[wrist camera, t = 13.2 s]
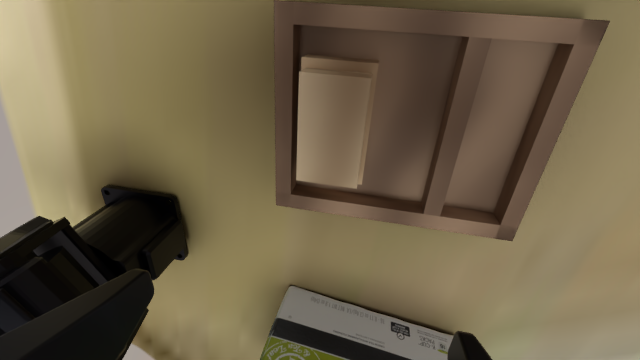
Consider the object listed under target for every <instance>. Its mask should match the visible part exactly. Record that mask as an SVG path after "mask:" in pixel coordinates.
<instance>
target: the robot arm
mask: <svg viewBox="0 0 640 360" xmlns="http://www.w3.org/2000/svg"><path fill="white" fill-rule="evenodd" d="M101 192H102V195H103V198H104V201H105V204H106V205H105V206H104V207H102V208H101V209H99V210H98V211H96V212H95V213H93V214H92V215H90V216H89V217H87V218H86V219H84V220H83V221H81V222H80V223H78V224H77V225H75V226H74V227H71V226H70V225H69V224H70V222H69V221H68V220H67V219H66V218H65V217H63V218H61V219H59V220H56V221H54V222H53V221H52V220H48V219H46V218H43V217H41V216H38V217H36V218H34V219H32V220H30V221H28V222H27V223H25V224H23V225H21V226H20V227H18V228H16V229H15V230H13V231H11V232H9V233H8V234H6V235H4V236H2V237H1V238H0V360H122V359H123V357H124V355H125V354H126V352H127V350H128V348H129V346H130V344H131V343H132V341H133V339H134V337H135V335H136V333H137V331H138V330H139V328H140V326H141V324H142V322H143V320H144V318H145V317H146V315H147V313H148V311H149V310H148V309H147V306H148V305H149V303H150V301H151V299H152V297H153V295H154V286H153V283H152V280H155V279H157V278H158V277H159V276H160V275H161V273H162V272H163V271H164V270H165V269H166V268H167V267H168V265H169V264H170V263H171V262H172V261H173V260H174V259H176V260H184V259H185V258H186V257H187V248H186V242H185V237H184V231H183V226H182V221H181V216H180V211H179V205H178V200H177V198H176V197H175V196H173V195H170V194H164V193H157V192H151V191H144V190H138V189H131V188H125V187H119V186H112V185H107V186H105V187H103V188H102V189H101ZM169 200H170V201H171V202H170V201H169ZM447 359H448V360H492V359H491V357H490V356H489V355H488V353H487V352H486V350H485V349H484V348H483V346H482V345H481V344H480V342H479V341H478V340H477V338H476V337H475V336H474V335H473V334H471V333H467V332H462V331H457V332H456V333H455V334H454V337H453V339H452V342H451V344H450V346H449V349H448V355H447Z"/></svg>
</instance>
